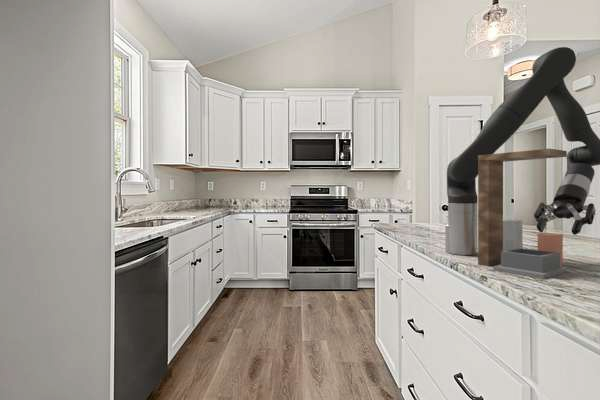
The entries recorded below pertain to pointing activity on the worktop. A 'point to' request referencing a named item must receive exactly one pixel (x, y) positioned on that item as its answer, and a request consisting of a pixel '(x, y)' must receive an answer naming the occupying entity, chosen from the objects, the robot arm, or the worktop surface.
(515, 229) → the skincare box
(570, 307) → the worktop surface
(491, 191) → the wooden l-shaped bracket
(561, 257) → the peg
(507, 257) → the socket
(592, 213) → the robot arm
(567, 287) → the worktop surface
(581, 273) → the worktop surface
